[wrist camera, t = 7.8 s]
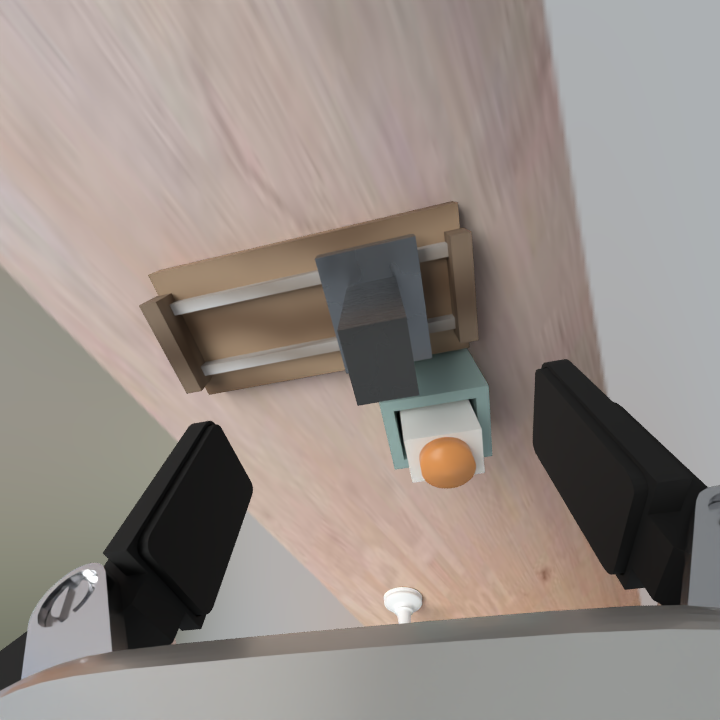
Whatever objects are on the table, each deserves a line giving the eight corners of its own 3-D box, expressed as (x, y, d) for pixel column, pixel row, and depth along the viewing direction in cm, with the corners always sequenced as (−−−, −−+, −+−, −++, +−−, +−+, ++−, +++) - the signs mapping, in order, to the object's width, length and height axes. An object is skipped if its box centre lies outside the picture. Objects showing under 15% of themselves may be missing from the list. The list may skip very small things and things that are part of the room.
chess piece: (423, 606, 44) (436, 712, 35) (386, 609, 45) (390, 714, 36) (420, 585, 42) (433, 692, 33) (381, 588, 43) (383, 694, 34)
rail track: (157, 270, 25) (126, 283, 21) (455, 200, 22) (469, 203, 19) (214, 385, 29) (195, 409, 26) (467, 338, 26) (479, 359, 23)
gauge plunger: (397, 394, 25) (405, 452, 19) (461, 383, 24) (486, 440, 19) (405, 432, 26) (414, 495, 21) (465, 422, 26) (489, 485, 21)
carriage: (317, 255, 21) (289, 293, 14) (413, 233, 20) (437, 261, 13) (347, 365, 25) (337, 441, 17) (429, 350, 24) (455, 423, 17)
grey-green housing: (377, 360, 27) (379, 403, 22) (464, 345, 27) (488, 385, 21) (391, 420, 30) (395, 471, 25) (470, 408, 29) (492, 457, 24)
